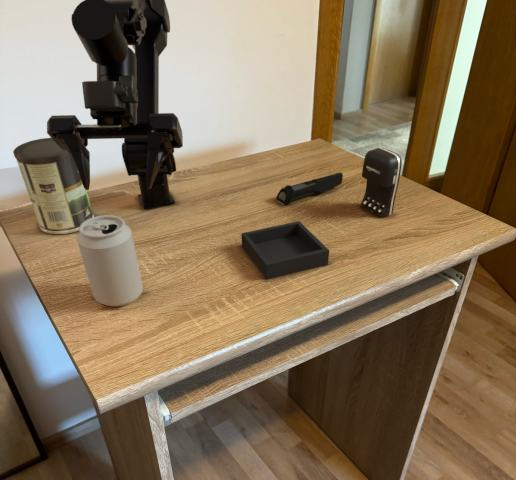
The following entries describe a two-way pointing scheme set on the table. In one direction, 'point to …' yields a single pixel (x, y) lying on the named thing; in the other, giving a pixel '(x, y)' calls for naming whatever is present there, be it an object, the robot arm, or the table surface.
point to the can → (110, 260)
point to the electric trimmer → (308, 188)
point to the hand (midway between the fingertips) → (117, 188)
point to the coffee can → (53, 186)
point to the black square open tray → (284, 249)
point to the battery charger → (381, 180)
